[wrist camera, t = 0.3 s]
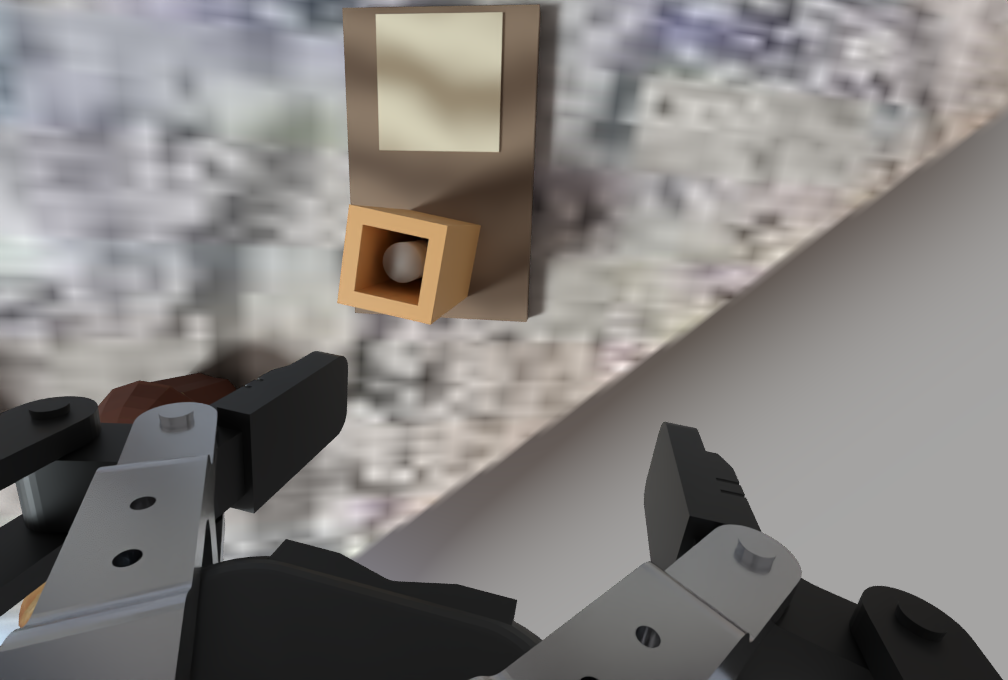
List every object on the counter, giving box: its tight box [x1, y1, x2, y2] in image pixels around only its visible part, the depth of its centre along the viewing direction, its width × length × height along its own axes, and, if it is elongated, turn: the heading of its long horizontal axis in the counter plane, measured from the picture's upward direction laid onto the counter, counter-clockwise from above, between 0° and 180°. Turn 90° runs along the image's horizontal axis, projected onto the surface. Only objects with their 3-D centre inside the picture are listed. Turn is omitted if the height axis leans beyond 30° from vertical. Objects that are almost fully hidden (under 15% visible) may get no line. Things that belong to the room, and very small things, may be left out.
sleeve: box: [337, 204, 481, 324], centre depth 33 cm, size 6×6×11 cm
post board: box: [343, 5, 541, 322], centre depth 33 cm, size 22×14×10 cm, turn 178°
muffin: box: [98, 373, 237, 424], centre depth 41 cm, size 12×11×10 cm
